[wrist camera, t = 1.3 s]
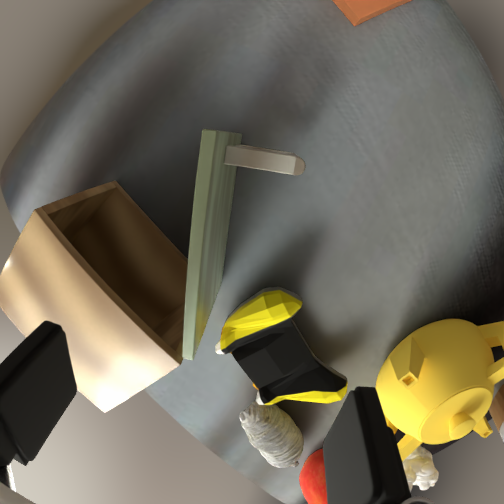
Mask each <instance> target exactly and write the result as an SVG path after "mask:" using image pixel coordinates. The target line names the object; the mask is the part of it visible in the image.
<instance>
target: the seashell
mask: <svg viewBox="0 0 504 504" xmlns="http://www.w3.org/2000/svg"><path fill="white" fill-rule="evenodd" d="M240 420H241V422H242V427H243V428H244V429H245V431H246V433H247V437H248V438H249V442H250V443H251V444H252V445H253V446H254V447H255V448H256V449H258V450H260V453H261V454H262V456H263V457H264V458H266V459H267V461H268V462H269V463H270V464H271V465H273V466H275V467H279V468H281V467H290V466H294V467H296V466H298V464H299V463H298V459H299V458H300V455H301V453H302V451H303V445H304V440H303V437H302V433H301V431H300V429H299V428H298V427H297V426H296V425H295V423H294V421H293V420H292V418H291V417H290V416H289V415H288V414H287V413H285V412H284V411H283V410H281V409H279V408H278V407H277V405H275V404H272V405H259V404H258V403H257V401H254V402H253V403H252V404H251V405H250V406H249V407H248V408H246V409H245V410H244V411H242V412H241V413H240Z"/></svg>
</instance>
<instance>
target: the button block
mask: <svg viewBox="0 0 504 504" xmlns="http://www.w3.org/2000/svg"><path fill="white" fill-rule="evenodd" d="M332 1H333V2H334V3H335V4H336V5H337V6H338V7H339V9H340V10H341V11H342V12H343V13H344V15H345V16H346V17H347V18H348V19H349V21H350V22H351V23H352V24H353V25H354V26H357V25H359V24H361V23H363V22H365V21H367V20H369V19H371V18H373V17H375V16H377V15H380V14H382V13H384V12H386V11H388V10H391V9H393V8H395V7H398V6H400V5H402V4H405V3H407V2H410V1H412V0H332Z"/></svg>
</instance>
